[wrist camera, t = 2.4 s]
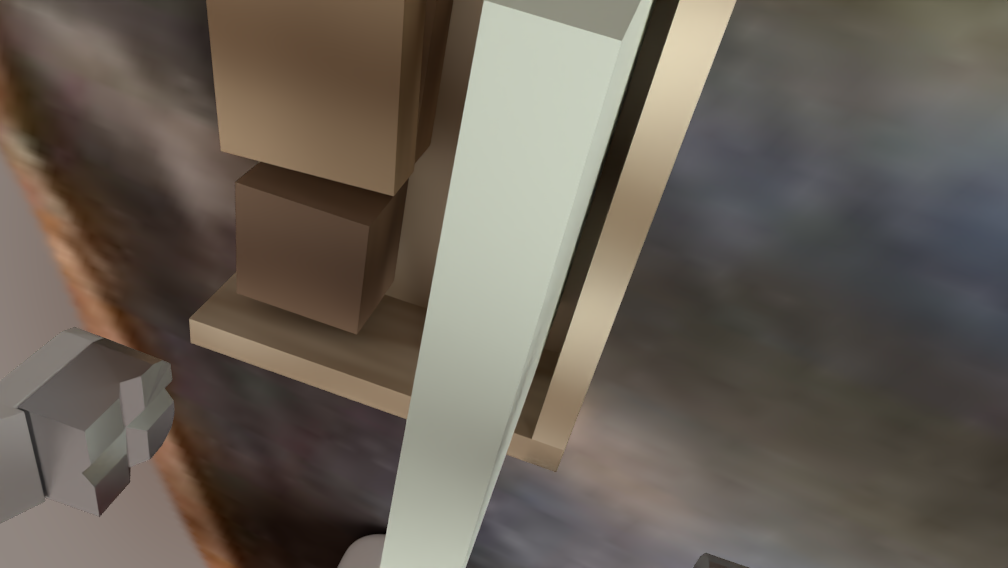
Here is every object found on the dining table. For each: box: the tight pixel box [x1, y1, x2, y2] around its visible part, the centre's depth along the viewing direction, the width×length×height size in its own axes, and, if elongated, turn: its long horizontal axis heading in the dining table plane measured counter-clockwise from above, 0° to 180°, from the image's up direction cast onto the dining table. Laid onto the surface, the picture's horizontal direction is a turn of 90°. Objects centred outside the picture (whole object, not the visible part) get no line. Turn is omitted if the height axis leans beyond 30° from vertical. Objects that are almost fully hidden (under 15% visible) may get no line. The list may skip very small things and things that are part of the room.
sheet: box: [380, 0, 657, 568], centre depth 16 cm, size 12×2×11 cm, turn 168°
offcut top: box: [206, 0, 426, 196], centre depth 19 cm, size 8×5×2 cm, turn 172°
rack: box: [189, 0, 736, 472], centre depth 20 cm, size 18×12×5 cm, turn 168°
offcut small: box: [235, 161, 409, 335], centre depth 23 cm, size 4×4×3 cm
